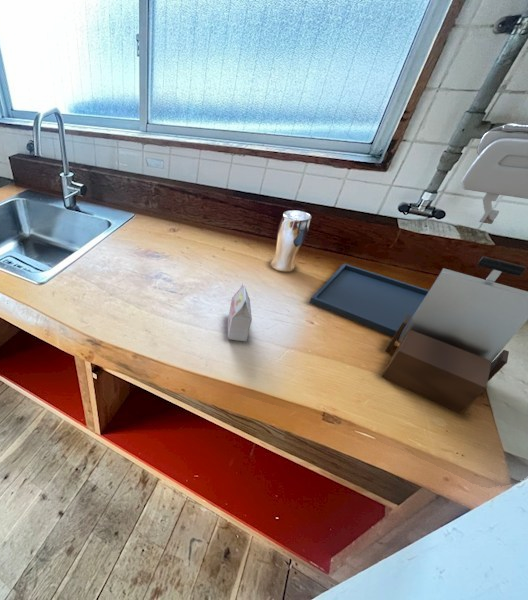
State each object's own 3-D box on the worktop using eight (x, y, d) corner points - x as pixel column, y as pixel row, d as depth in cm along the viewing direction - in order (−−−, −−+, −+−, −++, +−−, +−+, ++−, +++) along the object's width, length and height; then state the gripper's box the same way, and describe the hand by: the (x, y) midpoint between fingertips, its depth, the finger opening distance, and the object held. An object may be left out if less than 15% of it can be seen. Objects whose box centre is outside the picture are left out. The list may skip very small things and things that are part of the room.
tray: (475, 311, 72) (480, 306, 71) (460, 364, 60) (465, 358, 59) (342, 268, 88) (344, 263, 87) (309, 302, 76) (311, 297, 75)
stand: (480, 380, 57) (509, 351, 52) (471, 419, 51) (503, 390, 47) (389, 342, 65) (407, 314, 61) (372, 372, 59) (391, 343, 55)
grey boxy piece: (244, 320, 72) (253, 284, 66) (246, 341, 67) (256, 303, 61) (227, 318, 73) (235, 282, 67) (228, 339, 68) (235, 301, 62)
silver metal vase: (296, 274, 86) (313, 221, 77) (268, 270, 88) (282, 218, 79) (295, 261, 91) (311, 211, 82) (269, 258, 94) (282, 208, 85)
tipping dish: (479, 375, 55) (480, 367, 57) (562, 279, 46) (559, 274, 48) (397, 341, 62) (400, 335, 65) (454, 252, 53) (455, 248, 55)
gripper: (488, 124, 45) (436, 218, 53) (762, 140, 33) (640, 259, 41) (493, 119, 48) (443, 208, 56) (743, 130, 36) (633, 242, 44)
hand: (527, 230), depth 49 cm, fingers open, 8 cm apart
